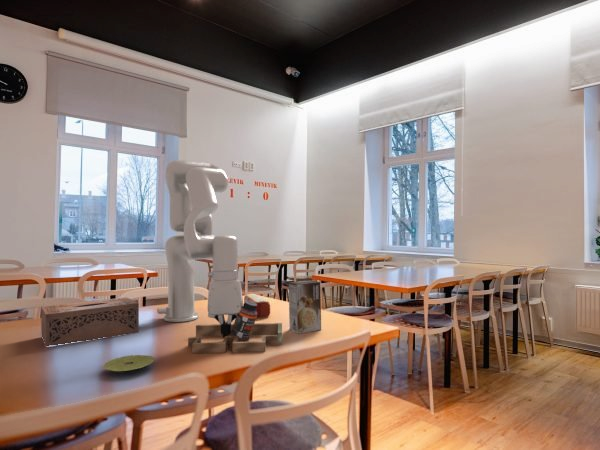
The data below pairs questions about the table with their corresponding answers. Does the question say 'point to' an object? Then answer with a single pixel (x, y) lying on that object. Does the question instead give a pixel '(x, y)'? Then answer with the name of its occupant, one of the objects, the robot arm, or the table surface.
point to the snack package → (259, 305)
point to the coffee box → (304, 306)
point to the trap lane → (235, 338)
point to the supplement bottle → (245, 321)
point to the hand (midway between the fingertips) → (226, 336)
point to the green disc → (128, 363)
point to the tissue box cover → (89, 320)
